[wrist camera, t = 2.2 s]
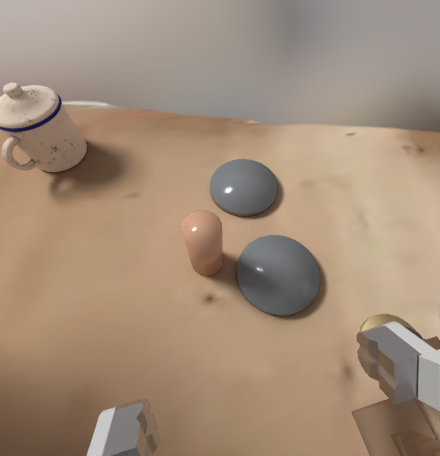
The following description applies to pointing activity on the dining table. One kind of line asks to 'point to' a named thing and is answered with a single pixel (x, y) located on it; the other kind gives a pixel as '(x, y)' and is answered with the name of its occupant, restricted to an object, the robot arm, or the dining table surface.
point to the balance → (396, 415)
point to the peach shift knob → (203, 241)
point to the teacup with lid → (39, 129)
